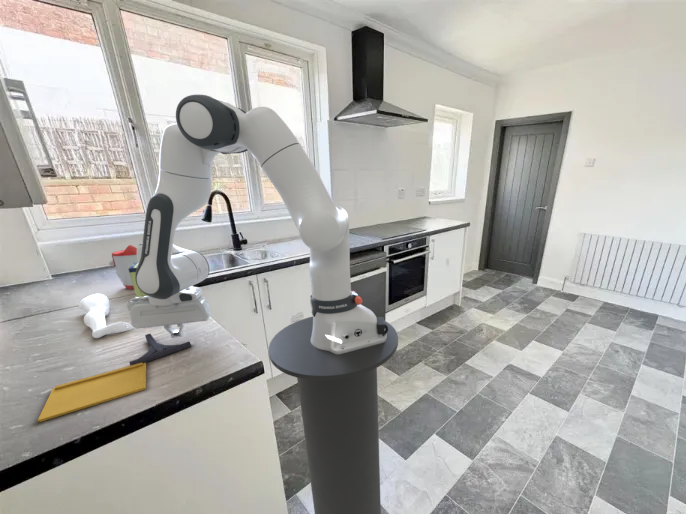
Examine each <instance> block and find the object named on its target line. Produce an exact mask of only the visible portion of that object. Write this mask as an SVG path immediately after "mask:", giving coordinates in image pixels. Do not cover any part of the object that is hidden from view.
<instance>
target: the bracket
mask: <svg viewBox="0 0 686 514" xmlns="http://www.w3.org/2000/svg"><path fill="white" fill-rule="evenodd" d="M145 340H146V342H147V344H148V345H149V348H148V351H147V352H145V353H144V354H143V355H142V356H140V357H138V358H136V359H134V360H133V359H132V360H131V361H129V366H131V365H135V364H138V363H142V362H143V364H144V363H146V364H147V363H148V362H151V361H154V360H158V359H160V358H162V357H166V356H168V355H171V354H174V353H177V352H179V351H182V350H185V349H187V348H191V347H192V344H191V341H186V342H183V343H179V344H163V343H159V342H157V341H156V340H155V338H154V336H153V335H152V334H151V333H146V334H145Z"/></svg>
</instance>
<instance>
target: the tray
mask: <svg viewBox="0 0 686 514" xmlns="http://www.w3.org/2000/svg"><path fill="white" fill-rule="evenodd" d="M146 389H147V362H146V363H143V362H142V363H138V364H135V365H131V366H130V365H127V366H124V367H120V368H117V369H113V370H109V371H106V372H105V371H104V372H102V373H98V374H95V375H91V376H87V377H84V378H81V379H77V380H73V381H69V382H65V383H62V384H58V385H55V386H54V387H52V389H51V392H50V393H49V396H48V398H47V400H46V402H45V404H44V406H43V408H42V411H41V412H40V415H39V416H38V419H37V422H38V423H42V422H45V421H48V420H51V419H55V418H58V417H62V416H64V415H67V414H71V413H74V412H78V411H80V410H84V409H87V408H90V407H93V406H96V405H97V406H98V405H99V404H103V403H106V402H109V401H114V400H116V399H119V398H121V397H125V396H129V395H131V394H135V393H138V392H141V391H144V390H146Z"/></svg>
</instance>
